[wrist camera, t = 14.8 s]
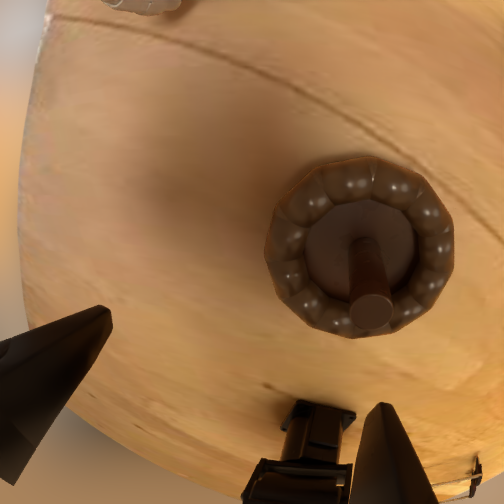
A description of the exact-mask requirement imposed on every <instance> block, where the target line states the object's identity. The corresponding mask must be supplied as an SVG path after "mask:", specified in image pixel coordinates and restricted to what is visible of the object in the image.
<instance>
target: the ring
mask: <svg viewBox="0 0 504 504" xmlns="http://www.w3.org/2000/svg"><path fill="white" fill-rule="evenodd" d="M369 199H370V200H373V201H376V202H379V203H381V204H384V205H387V206H389V207H392V208H395V209H398V210H400V211H401V212H402V213H403V215H404V216H405V217H406V218H407V220H408V221H409V222H410V224H411V225H412V226H413V228H414V229H415V230H416V232H417V233H418V242H419V256H420V260H419V262H418V264H417V266H416V268H415V270H414V272H413V274H412V276H411V278H410V280H409V282H408V284H407V285H406V286H404V287H403V288H401V289H400V290H399V291H397V292H396V293H394V294H393V295H391V298H392V303H393V309H394V311H393V315H392V318H391V319H390V321H389V322H388V323H387V324H386V325H385V326H383V327H381V328H379V329H375V330H364V329H361V328H359V327H357V326H356V325H354V323H353V322H352V321H351V319H350V315H349V303H347V302H344V301H340V300H337V299H334V298H331V297H328V296H327V295H326V294H325V293H324V292H323V291H322V290H321V289H320V288H319V287H318V286H317V285H316V284H315V283H314V282H313V281H312V280H311V279H310V278H309V275H308V271H307V267H306V264H305V260H304V256H303V251H304V248H305V245H306V242H307V239H308V235H309V232H310V229H311V227H312V226H313V225H314V224H315V223H316V222H317V221H319V220H320V219H321V218H322V217H323V216H324V215H326V214H327V213H328V212H329V211H330V210H331V209H332V208H334V207H335V206H337V205H342V204H348V203H353V202H358V201H363V200H369ZM264 257H265V260H266V263H267V266H268V269H269V273H270V276H271V279H272V282H273V285H274V288H275V291H276V294H277V296H278V298H279V299H280V300H281V301H282V302H283V303H284V304H285V305H286V306H287V307H289V308H290V309H291V310H292V311H293V312H294V313H295V314H296V315H297V316H298V317H299V318H301V319H302V320H303V321H304V322H305V323H306V324H307V325H308V326H310V327H312V328H315V329H318V330H321V331H324V332H328V333H331V334H335V335H338V336H342V337H345V338H349V339H358V338H365V337H372V336H379V335H386V334H392V333H395V332H397V331H399V330H400V329H402V328H403V327H405V326H407V325H408V324H410V323H411V322H413V321H414V320H416V319H417V318H419V317H420V316H422V315H423V314H425V313H426V312H428V311H429V310H430V309H431V308H432V307H433V305H434V304H435V302H436V300H437V299H438V297H439V295H440V294H441V292H442V290H443V288H444V287H445V285H446V283H447V281H448V279H449V278H450V276H451V274H452V272H453V269H454V225H453V220H452V217H451V215H450V214H449V212H448V211H447V209H446V208H445V206H444V205H443V203H442V202H441V200H440V199H439V197H438V196H437V194H436V193H435V191H434V190H433V189H432V187H431V186H430V184H429V183H428V182H427V180H426V179H425V178H424V177H423V176H421V175H420V174H418V173H415V172H413V171H410V170H408V169H405V168H403V167H400V166H398V165H395V164H393V163H390V162H387V161H385V160H382V159H379V158H377V157H372V156H366V157H360V158H355V159H350V160H345V161H341V162H336V163H331V164H326V165H322V166H318V167H316V168H314V169H313V170H312V171H310V172H309V173H308V174H307V175H306V176H305V177H304V178H303V179H302V180H301V181H300V182H299V183H298V184H297V185H296V186H295V187H293V188H292V189H291V190H290V191H289V192H288V193H287V194H286V195H285V196H284V197H283V198H282V199H281V200H280V201H279V202H278V203H277V205H276V207H275V209H274V213H273V217H272V221H271V225H270V229H269V233H268V236H267V240H266V244H265V249H264Z"/></svg>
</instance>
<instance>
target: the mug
mask: <svg viewBox="0 0 504 504" xmlns="http://www.w3.org/2000/svg"><path fill="white" fill-rule="evenodd" d="M101 1H102V2H103V3H104V4H105V5H107V6H109V7H110V8H112V9H114V10H120V11H128V12H134V13H136V14H138V15H143V16H152V15H159V14H161V13H163V12H164V11H174V10H176V9H177V8H179V6H180V4H181V2H182V0H101Z"/></svg>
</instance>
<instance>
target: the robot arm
mask: <svg viewBox="0 0 504 504" xmlns="http://www.w3.org/2000/svg"><path fill="white" fill-rule="evenodd" d="M112 329H113V323H112V316H111V311H110V309H108V308H107V307H105V306H103V305H97V306H94V307H91V308H89V309H86V310H83V311H81V312H78V313H75V314H73V315H70V316H67V317H65V318H62V319H59V320H57V321H54V322H51V323H49V324H46V325H43V326H41V327H38V328H35V329H33V330H30V331H27V332H25V333H22V334H19V335H17V336H14V337H12V338H9V339H6V340H4V341H1V342H0V478H2V479H3V480H5V481H6V482H8V483H9V484H11V485H13V486H14V484H15V483H16V481H17V480H18V478H19V476H20V475H21V473H22V471H23V470H24V468H25V466H26V465H27V463H28V461H29V460H30V458H31V457H32V455H33V453H34V452H35V450H36V448H37V447H38V445H39V444H40V442H41V440H42V439H43V437H44V436H45V434H46V433H47V431H48V429H49V428H50V427H51V425H52V423H53V422H54V420H55V419H56V417H57V416H58V414H59V413H60V411H61V410H62V409H63V407H64V406H65V404H66V403H67V401H68V400H69V398H70V397H71V395H72V394H73V392H74V391H75V390H76V388H77V387H78V385H79V384H80V383H81V381H82V380H83V378H84V377H85V375H86V374H87V373H88V371H89V370H90V368H91V367H92V365H93V364H94V362H95V360H96V359H97V357H98V355H99V353H100V351H101V350H102V348H103V346H104V344H105V343H106V341H107V339H108V338H109V336H110V334H111V332H112ZM355 419H356V413H353V412H349V411H344V410H340V409H335V408H331V407H327V406H323V405H319V404H315V403H311V402H307V401H303V400H297V401H296V402H295V404H294V405H293V407H292V409H291V410H290V412H289V413H288V415H287V417H286V418H285V420H284V421H283V423H282V424H281V426H280V430H282V431H285V432H287V434H286V438H285V442H284V446H283V450H282V454H281V457H280V461H276V460H268V459H266V458H261V460H260V462H259V464H257V466H256V468H255V470H254V472H253V474H252V476H251V478H250V480H249V482H248V484H247V486H246V488H245V490H244V491H243V492H242V494H241V499H242V501H243V504H348V502H349V504H439V502H438V500H437V498H436V495H435V493H434V491H433V489H432V487H431V484H430V482H429V480H428V478H427V475H426V473H425V471H424V469H423V467H422V465H421V463H420V460H419V458H418V456H417V454H416V452H415V450H414V448H413V446H412V444H411V442H410V439H409V437H408V435H407V433H406V431H405V429H404V427H403V425H402V423H401V421H400V419H399V417H398V415H397V413H396V411H395V409H394V407H393V406H392V405H391V404H389V403H384V402H380V403H378V404H377V405H376V406H375V407H374V408H373V409H372V410H371V412H370V413H369V414H368V415H367V417H366V419H365V423H364V427H363V432H362V436H361V441H360V445H359V449H358V453H357V457H356V462H355V469H354V475H353V482H352V488H351V494H350V486H351V478H352V468H353V463H351V464H339V458H340V451H341V442H342V434H343V432H344V431H345V430H346V429H347V428H348V427H349V425H350V424H351V423H352V422H353V421H354V420H355ZM336 484H344V486H336ZM349 495H350V499H349Z"/></svg>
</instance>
